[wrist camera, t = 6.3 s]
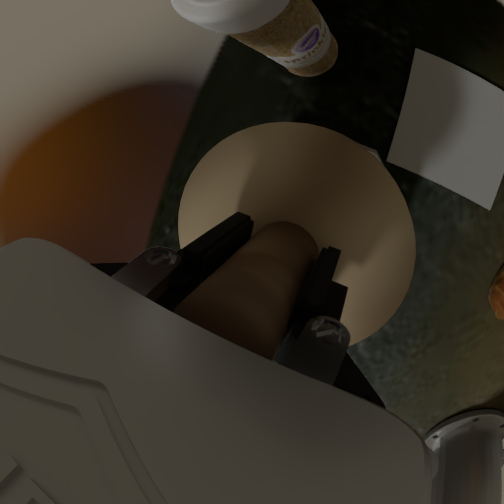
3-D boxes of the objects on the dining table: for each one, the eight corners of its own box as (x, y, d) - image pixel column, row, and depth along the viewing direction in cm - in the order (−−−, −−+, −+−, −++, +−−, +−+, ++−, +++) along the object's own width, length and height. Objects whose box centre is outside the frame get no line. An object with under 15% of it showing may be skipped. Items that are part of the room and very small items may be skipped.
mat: (519, 102, 12) (521, 102, 12) (488, 208, 16) (489, 210, 16) (415, 49, 14) (415, 48, 14) (386, 160, 19) (386, 161, 18)
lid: (452, 178, 9) (528, 243, 4) (353, 369, 15) (323, 477, 9) (205, 99, 12) (79, 101, 6) (179, 293, 17) (101, 362, 12)
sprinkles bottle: (324, 87, 18) (246, 35, 7) (270, 64, 19) (147, 15, 8) (349, 37, 16) (301, -66, 5) (293, 16, 17) (194, -72, 5)
